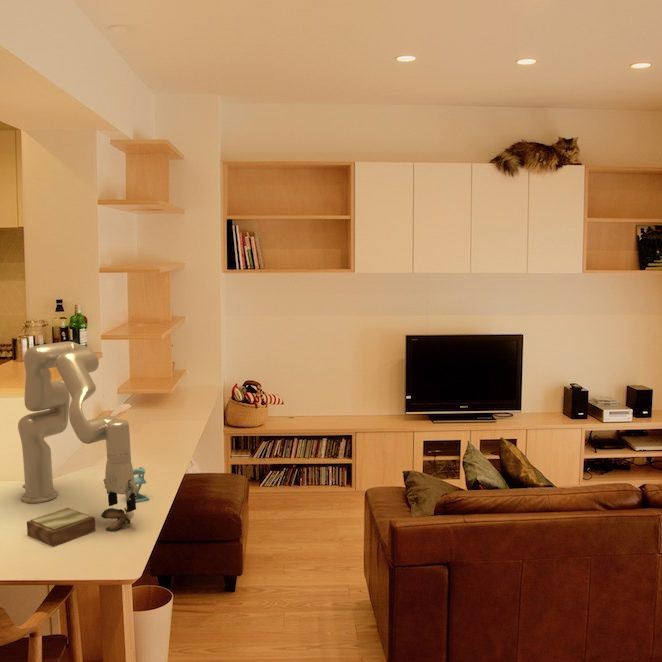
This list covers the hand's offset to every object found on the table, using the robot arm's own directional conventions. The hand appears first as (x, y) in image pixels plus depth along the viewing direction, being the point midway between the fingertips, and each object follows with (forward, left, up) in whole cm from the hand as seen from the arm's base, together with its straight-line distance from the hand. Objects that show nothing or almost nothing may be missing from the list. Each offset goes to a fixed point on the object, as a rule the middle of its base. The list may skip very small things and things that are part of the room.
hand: (122, 507), depth 244 cm
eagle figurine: (0, -2, -6) cm, 6 cm away
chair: (-17, +18, -6) cm, 25 cm away
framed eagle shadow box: (-11, -16, -6) cm, 20 cm away
